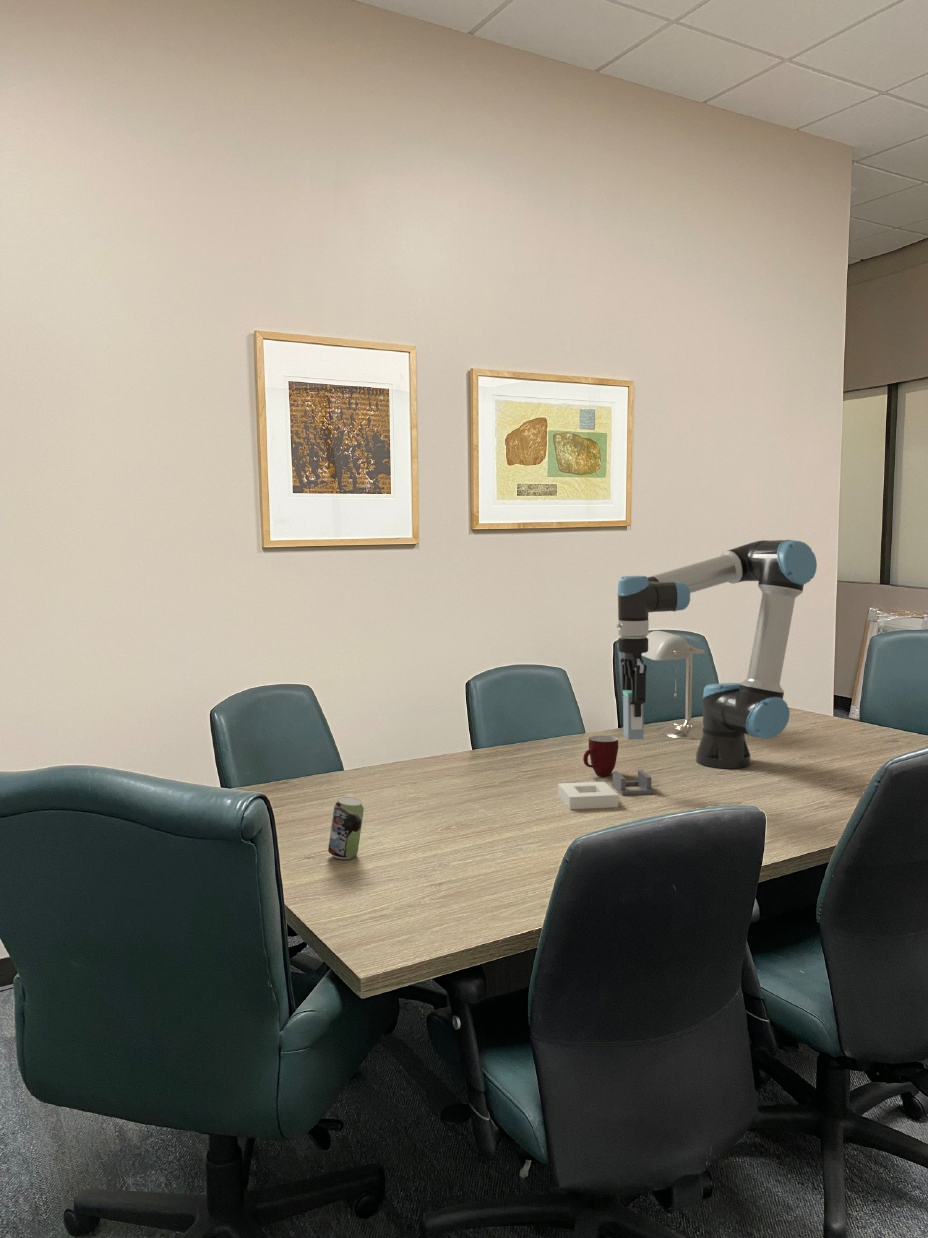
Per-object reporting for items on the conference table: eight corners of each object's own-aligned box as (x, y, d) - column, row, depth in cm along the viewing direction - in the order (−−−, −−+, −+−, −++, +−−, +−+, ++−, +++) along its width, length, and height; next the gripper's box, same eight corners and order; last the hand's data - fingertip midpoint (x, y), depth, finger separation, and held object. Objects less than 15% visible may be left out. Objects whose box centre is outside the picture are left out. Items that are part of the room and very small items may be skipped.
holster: (640, 784, 231) (640, 769, 231) (652, 794, 222) (652, 778, 222) (611, 785, 230) (611, 770, 230) (622, 795, 221) (622, 779, 221)
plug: (638, 735, 227) (638, 689, 226) (644, 738, 223) (643, 692, 222) (622, 736, 227) (622, 690, 226) (628, 739, 223) (627, 693, 222)
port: (603, 793, 223) (603, 781, 223) (618, 807, 211) (618, 795, 211) (557, 795, 221) (557, 783, 221) (569, 809, 210) (569, 797, 209)
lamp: (631, 726, 303) (632, 629, 300) (699, 724, 306) (700, 628, 303) (656, 743, 277) (657, 637, 274) (730, 741, 280) (732, 636, 277)
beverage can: (329, 852, 182) (328, 795, 181) (364, 850, 182) (364, 794, 181) (327, 863, 176) (326, 804, 174) (364, 861, 176) (363, 803, 175)
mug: (597, 781, 234) (597, 744, 233) (575, 775, 240) (575, 739, 240) (624, 775, 240) (624, 739, 239) (602, 769, 247) (603, 734, 246)
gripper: (609, 633, 230) (609, 721, 233) (629, 641, 214) (630, 735, 216) (636, 632, 231) (636, 719, 234) (659, 639, 215) (659, 733, 217)
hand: (633, 727), depth 225 cm, fingers closed on plug, 4 cm apart
